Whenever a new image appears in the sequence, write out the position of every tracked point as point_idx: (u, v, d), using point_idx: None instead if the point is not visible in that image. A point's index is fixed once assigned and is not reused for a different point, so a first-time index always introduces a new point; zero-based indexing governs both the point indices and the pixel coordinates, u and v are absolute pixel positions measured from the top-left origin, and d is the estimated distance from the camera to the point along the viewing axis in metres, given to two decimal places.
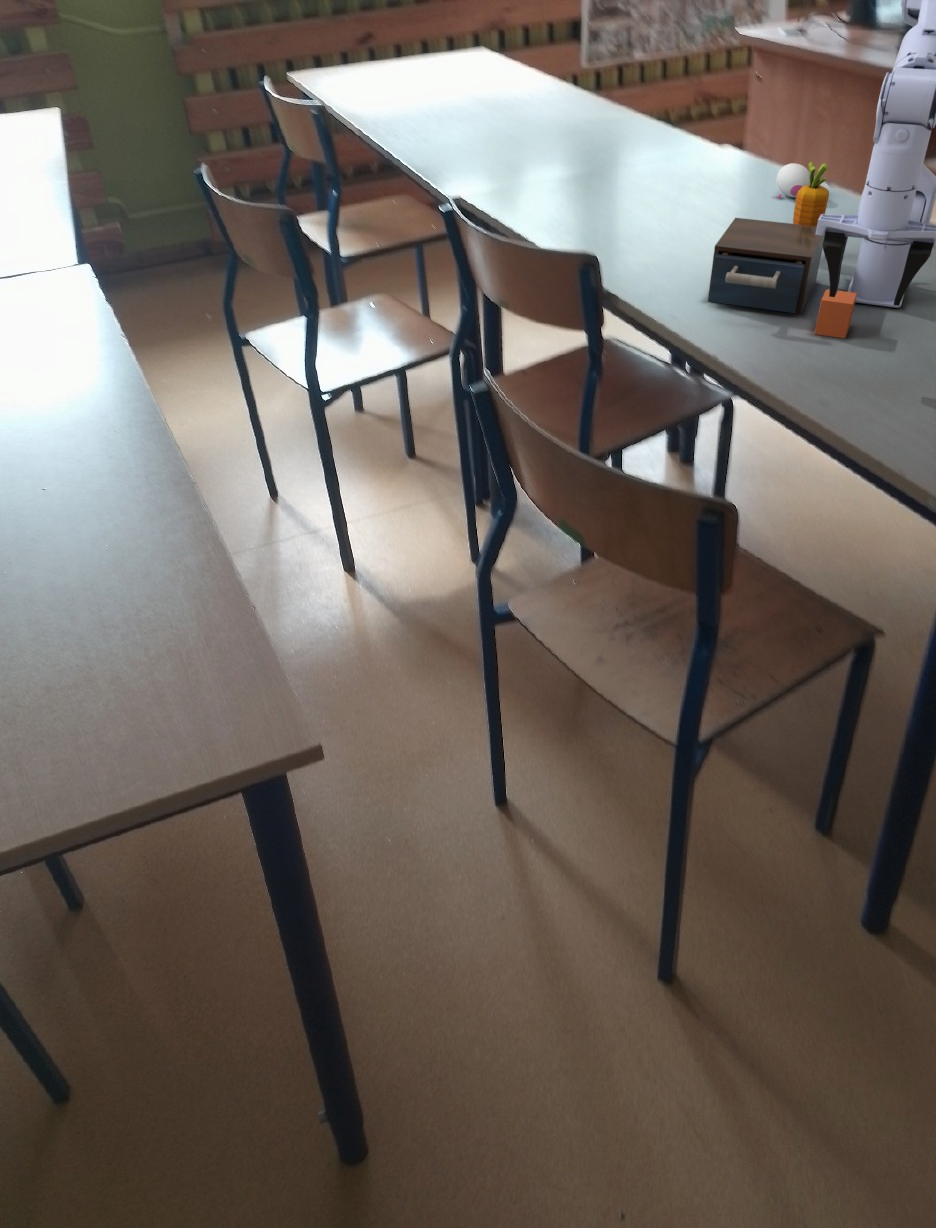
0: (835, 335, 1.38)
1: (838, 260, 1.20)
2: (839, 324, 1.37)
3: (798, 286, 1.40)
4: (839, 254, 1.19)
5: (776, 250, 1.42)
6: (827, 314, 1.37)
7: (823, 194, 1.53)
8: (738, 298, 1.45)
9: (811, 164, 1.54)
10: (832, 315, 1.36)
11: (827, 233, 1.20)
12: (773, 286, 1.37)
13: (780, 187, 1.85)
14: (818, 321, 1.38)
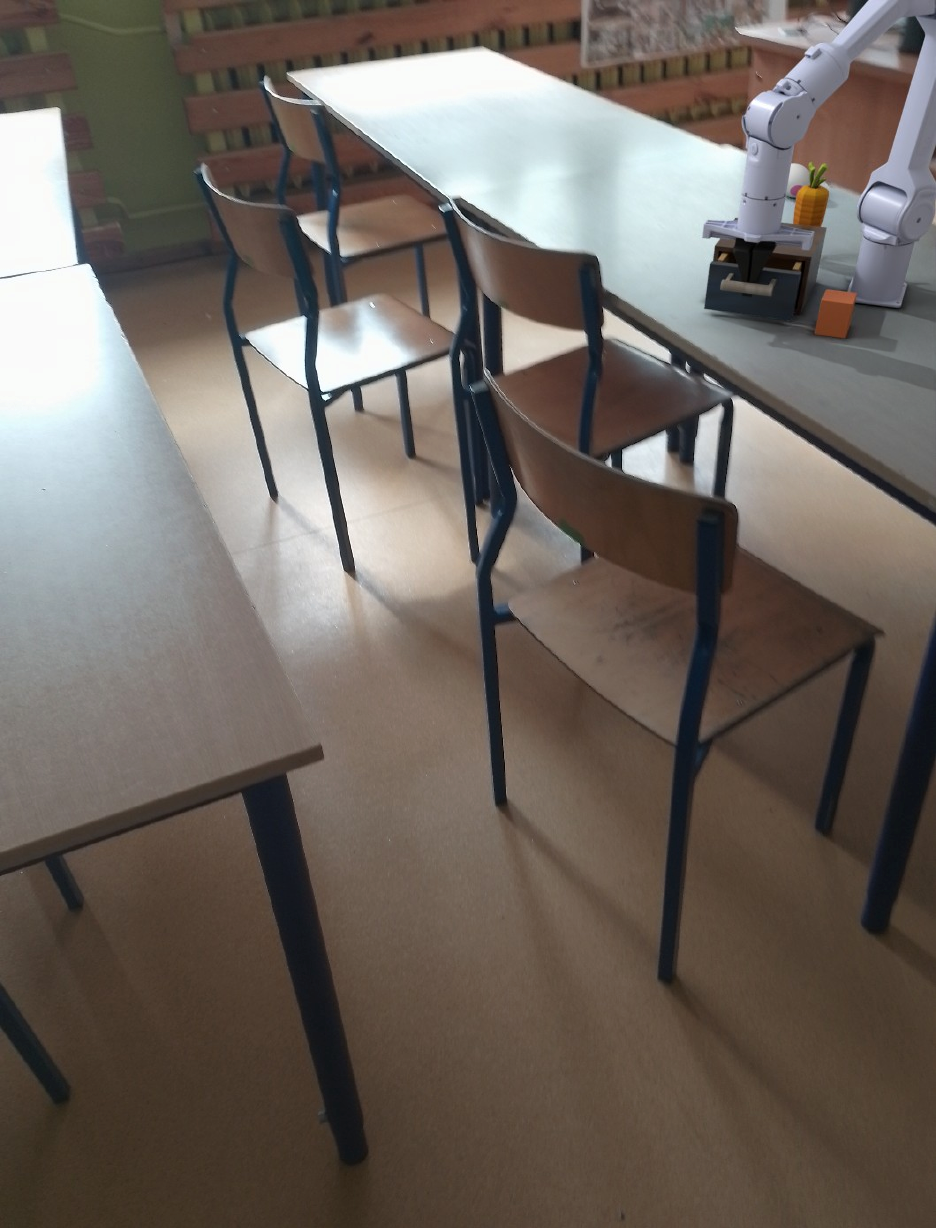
0: (835, 335, 1.38)
1: (747, 263, 1.35)
2: (839, 324, 1.37)
3: (794, 294, 1.38)
4: (747, 258, 1.34)
5: (776, 250, 1.42)
6: (827, 314, 1.37)
7: (823, 194, 1.53)
8: (733, 306, 1.43)
9: (811, 164, 1.54)
10: (832, 315, 1.36)
11: (737, 239, 1.35)
12: (769, 294, 1.35)
13: None
14: (818, 321, 1.38)
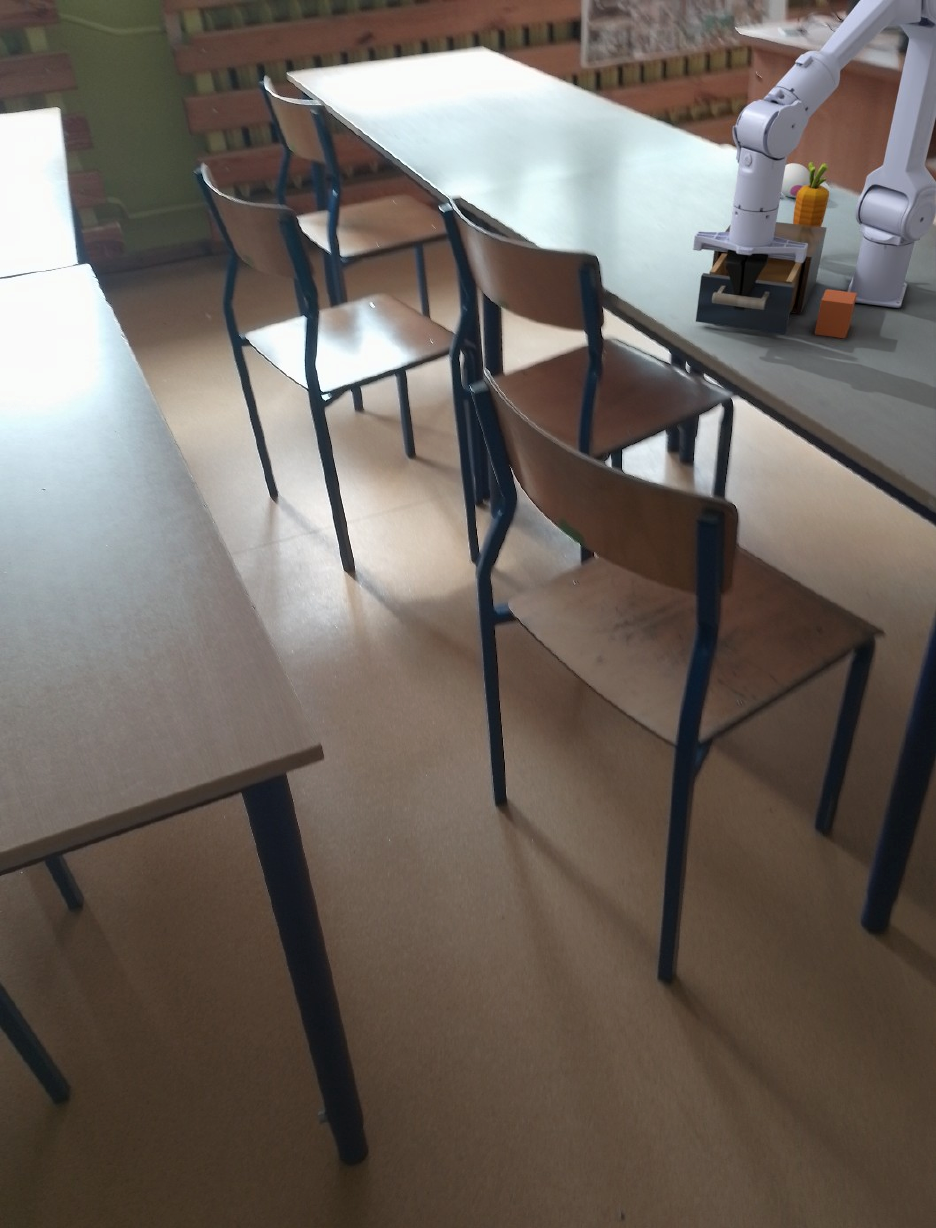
0: (835, 335, 1.38)
1: (739, 276, 1.31)
2: (839, 324, 1.37)
3: (788, 307, 1.35)
4: (740, 271, 1.31)
5: None
6: (827, 314, 1.37)
7: (823, 194, 1.53)
8: (725, 319, 1.39)
9: (811, 164, 1.54)
10: (832, 315, 1.36)
11: (729, 251, 1.31)
12: (761, 307, 1.32)
13: None
14: (818, 321, 1.38)
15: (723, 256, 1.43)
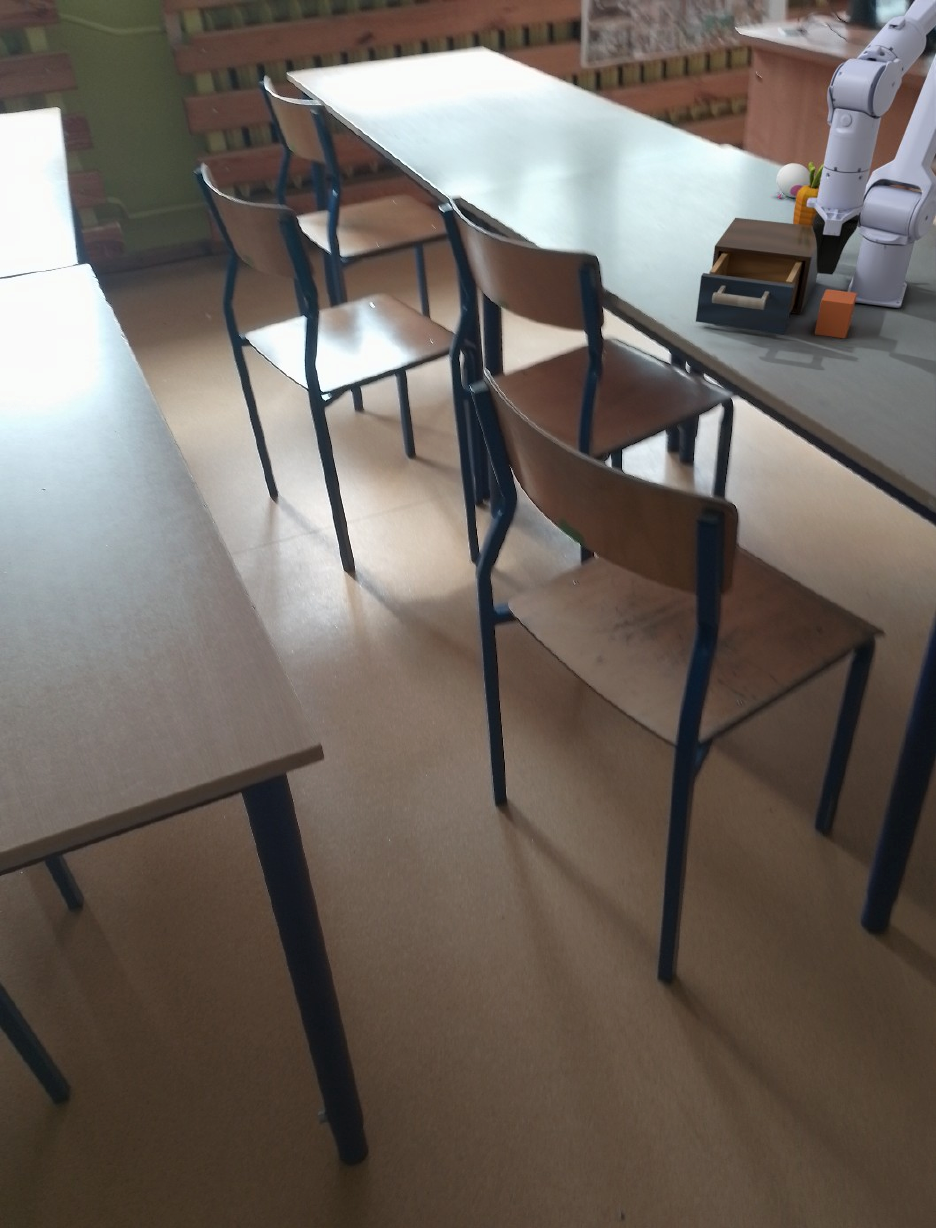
0: (835, 335, 1.38)
1: None
2: (839, 324, 1.37)
3: (788, 307, 1.35)
4: None
5: (776, 250, 1.42)
6: (827, 314, 1.37)
7: None
8: (725, 319, 1.39)
9: (811, 164, 1.54)
10: (832, 315, 1.36)
11: None
12: (761, 307, 1.32)
13: (780, 187, 1.85)
14: (818, 321, 1.38)
15: (723, 256, 1.43)
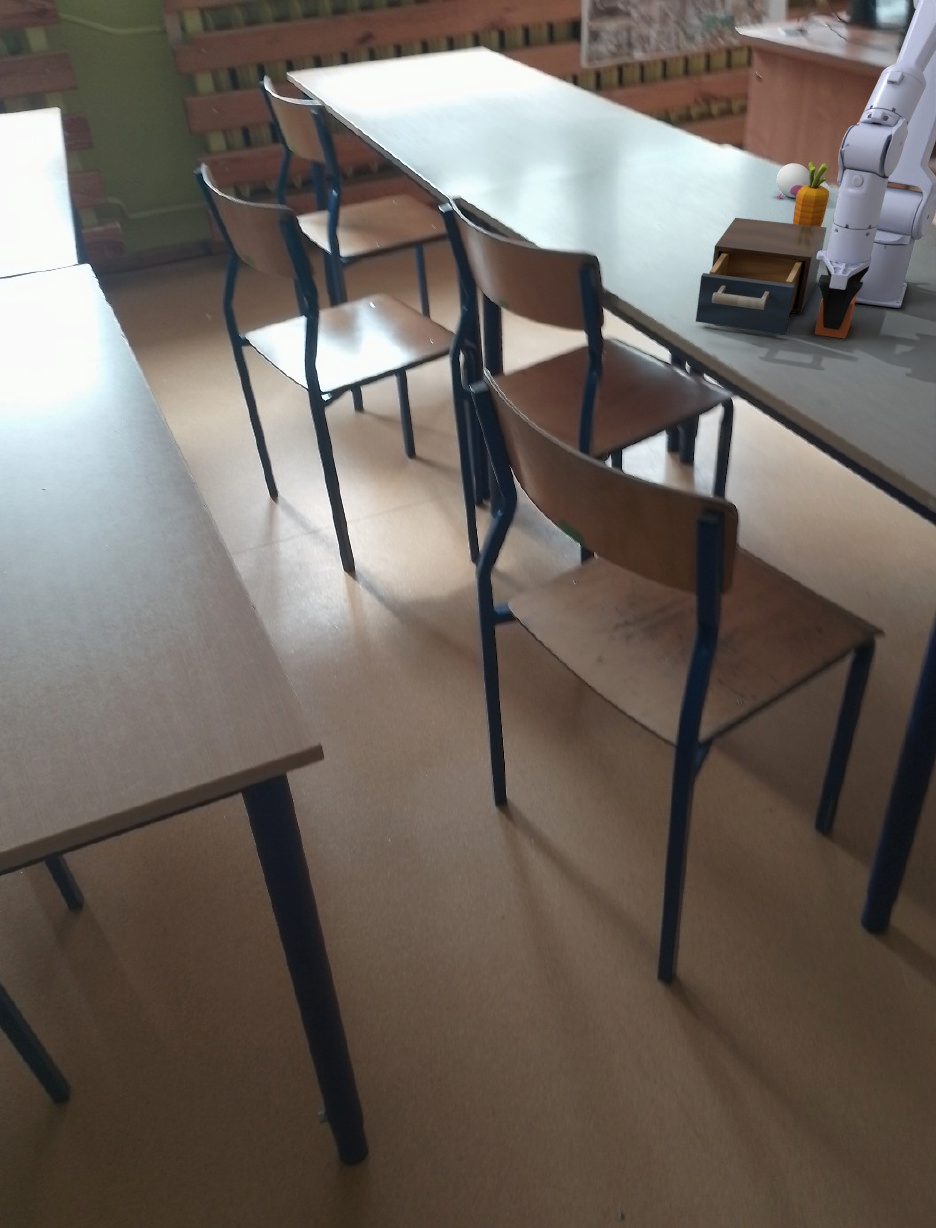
0: (835, 335, 1.38)
1: None
2: None
3: (788, 307, 1.35)
4: (828, 272, 1.38)
5: (776, 250, 1.42)
6: None
7: (823, 194, 1.53)
8: (725, 319, 1.39)
9: (811, 164, 1.54)
10: None
11: None
12: (761, 307, 1.32)
13: (780, 187, 1.85)
14: (818, 321, 1.38)
15: (723, 256, 1.43)
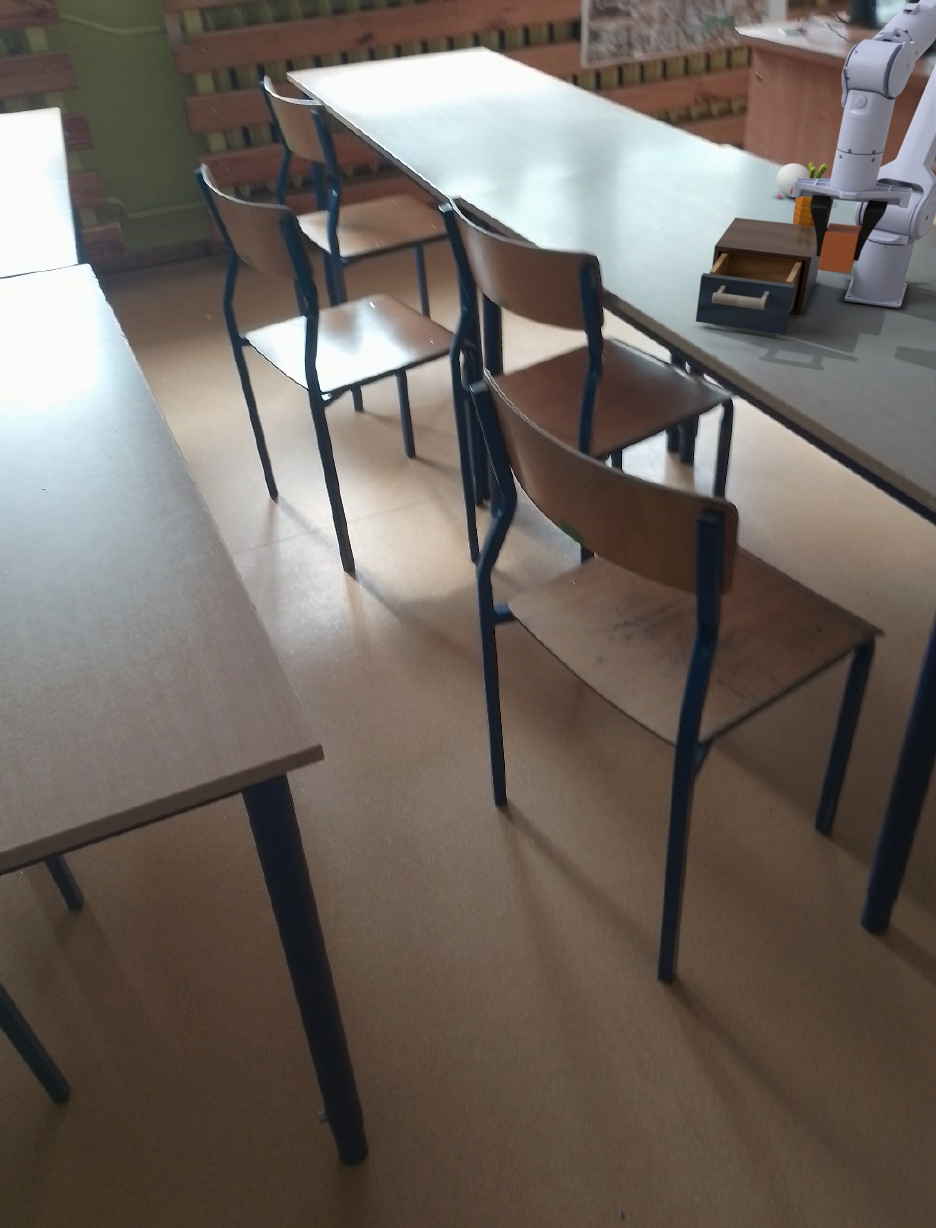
0: (852, 264, 1.34)
1: (824, 221, 1.30)
2: None
3: (788, 307, 1.35)
4: (825, 215, 1.29)
5: (776, 250, 1.42)
6: None
7: None
8: (725, 319, 1.39)
9: (811, 164, 1.54)
10: None
11: (814, 196, 1.30)
12: (761, 307, 1.32)
13: (780, 187, 1.85)
14: None
15: (723, 256, 1.43)
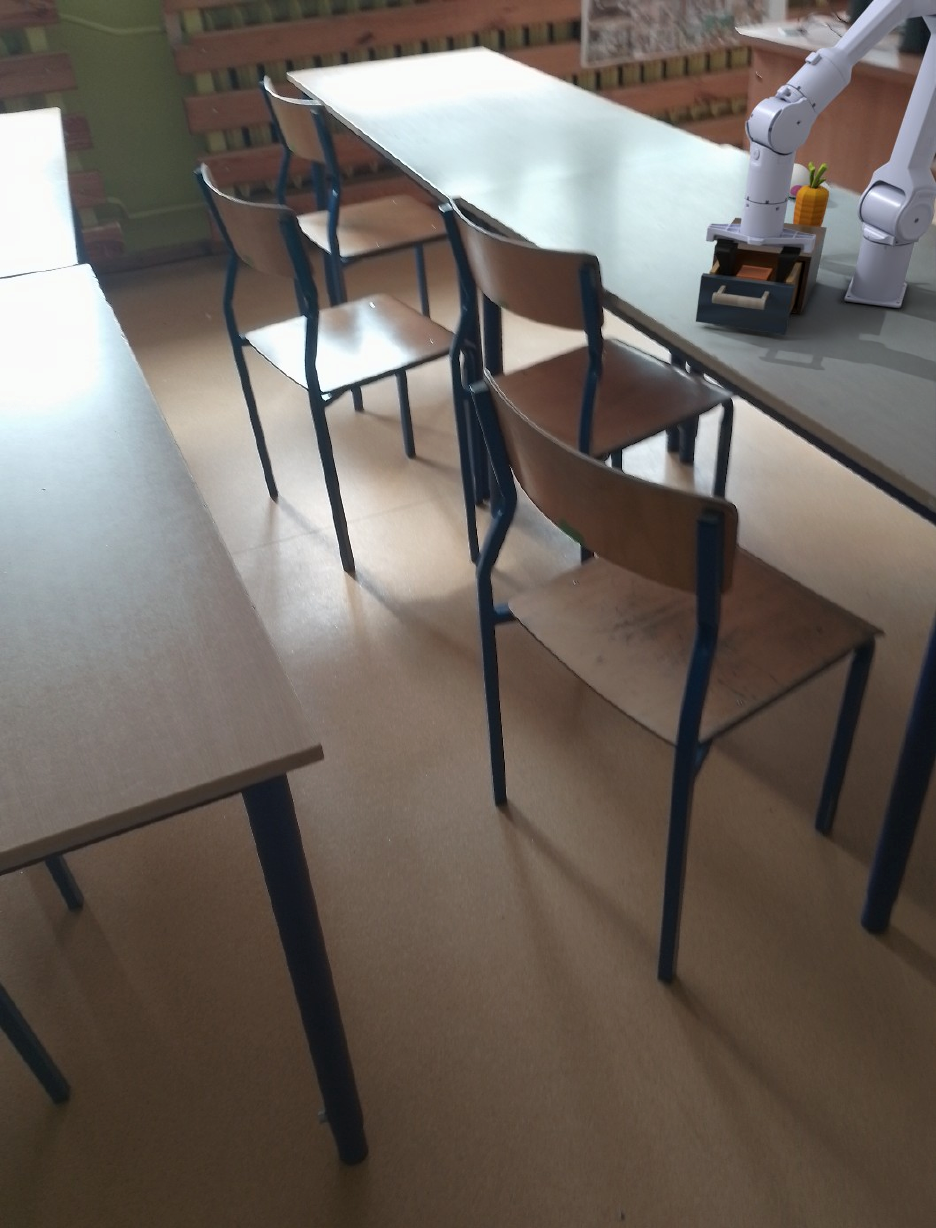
0: None
1: (728, 263, 1.38)
2: None
3: (788, 307, 1.35)
4: (728, 258, 1.38)
5: (776, 250, 1.42)
6: None
7: (823, 194, 1.53)
8: (725, 319, 1.39)
9: (811, 164, 1.54)
10: None
11: (718, 240, 1.38)
12: (761, 307, 1.32)
13: None
14: None
15: None
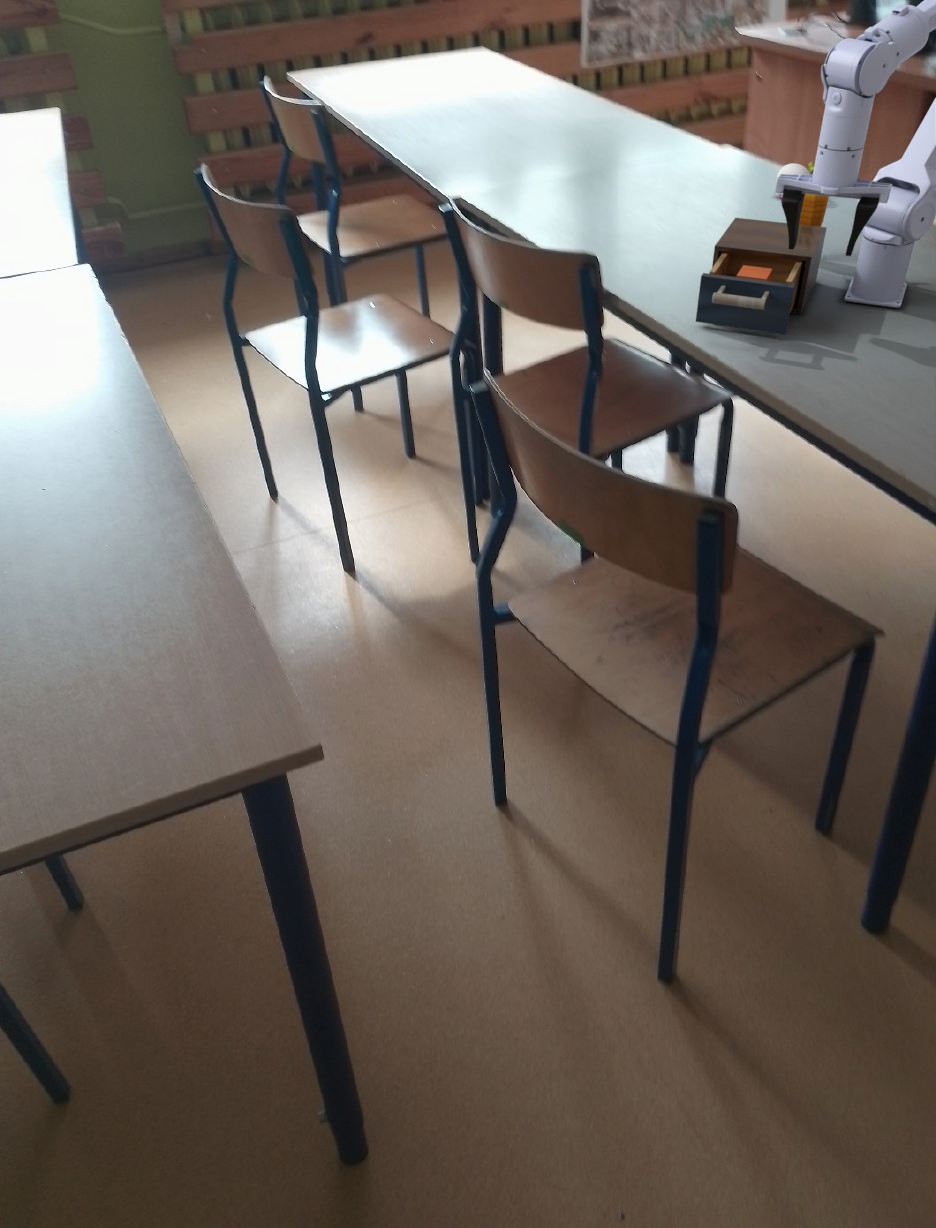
0: None
1: (795, 215, 1.34)
2: None
3: (788, 307, 1.35)
4: (796, 209, 1.33)
5: (776, 250, 1.42)
6: None
7: None
8: (725, 319, 1.39)
9: (811, 164, 1.54)
10: None
11: (785, 190, 1.34)
12: (761, 307, 1.32)
13: None
14: None
15: (723, 256, 1.43)
